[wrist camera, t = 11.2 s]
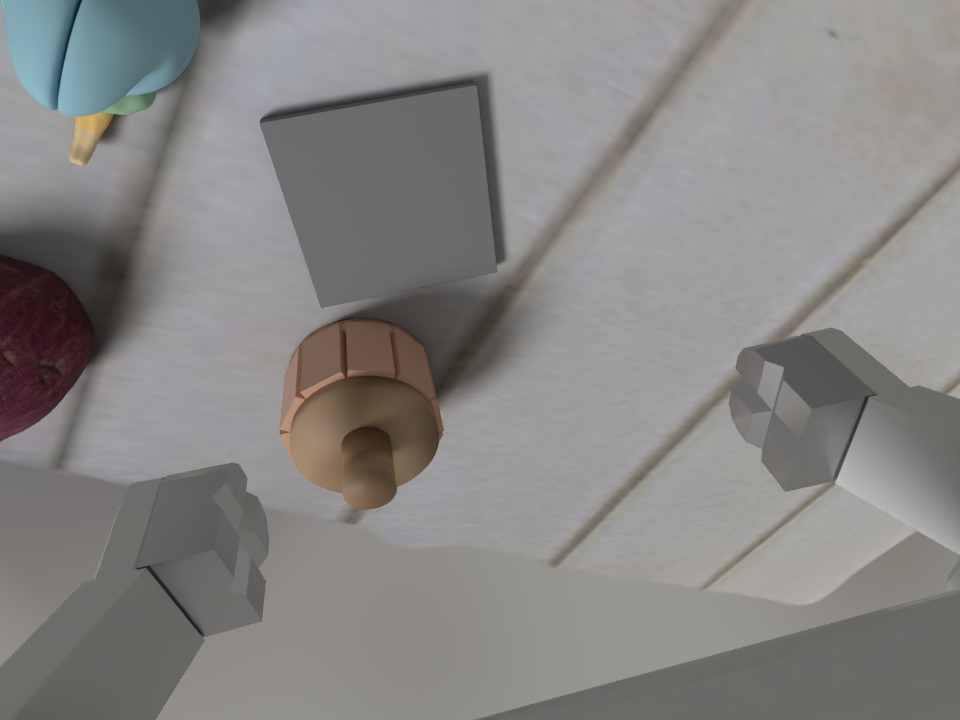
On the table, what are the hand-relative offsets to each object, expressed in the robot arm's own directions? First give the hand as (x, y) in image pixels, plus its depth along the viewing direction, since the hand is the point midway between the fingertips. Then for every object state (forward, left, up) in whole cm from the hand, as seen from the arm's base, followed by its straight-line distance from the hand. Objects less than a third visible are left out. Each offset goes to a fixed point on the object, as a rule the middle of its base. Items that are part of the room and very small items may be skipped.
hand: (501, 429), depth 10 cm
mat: (+1, +8, -29) cm, 30 cm away
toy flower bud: (+13, -3, -29) cm, 32 cm away
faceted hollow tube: (+6, +21, -29) cm, 36 cm away
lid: (+6, +21, -23) cm, 32 cm away
